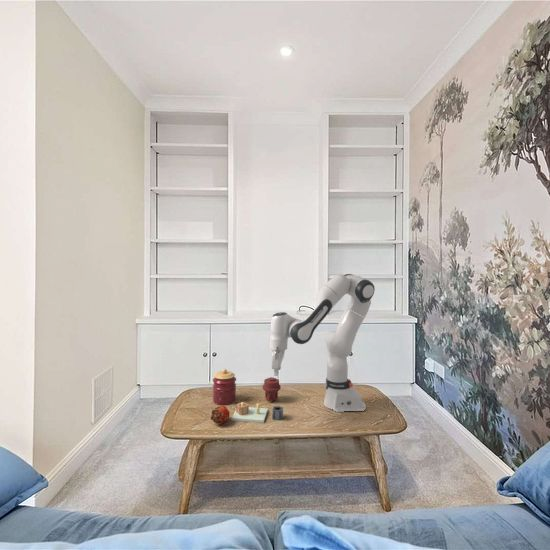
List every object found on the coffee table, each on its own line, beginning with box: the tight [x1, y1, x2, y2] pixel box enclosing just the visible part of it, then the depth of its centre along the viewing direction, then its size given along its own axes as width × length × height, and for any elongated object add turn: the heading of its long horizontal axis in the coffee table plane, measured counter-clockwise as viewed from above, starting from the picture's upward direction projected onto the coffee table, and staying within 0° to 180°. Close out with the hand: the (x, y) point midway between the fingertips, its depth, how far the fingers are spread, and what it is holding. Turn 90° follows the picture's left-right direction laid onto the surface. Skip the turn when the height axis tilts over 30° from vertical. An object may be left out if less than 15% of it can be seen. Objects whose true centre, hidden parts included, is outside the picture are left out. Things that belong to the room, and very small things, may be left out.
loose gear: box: [271, 405, 284, 421], centre depth 162 cm, size 5×5×4 cm
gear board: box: [230, 401, 269, 424], centre depth 164 cm, size 16×13×6 cm
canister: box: [212, 368, 237, 406], centre depth 181 cm, size 13×13×18 cm
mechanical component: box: [262, 376, 281, 404], centre depth 182 cm, size 12×10×10 cm
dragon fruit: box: [210, 405, 230, 425], centre depth 157 cm, size 8×8×12 cm
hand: (277, 372), depth 163 cm, fingers open, 8 cm apart
